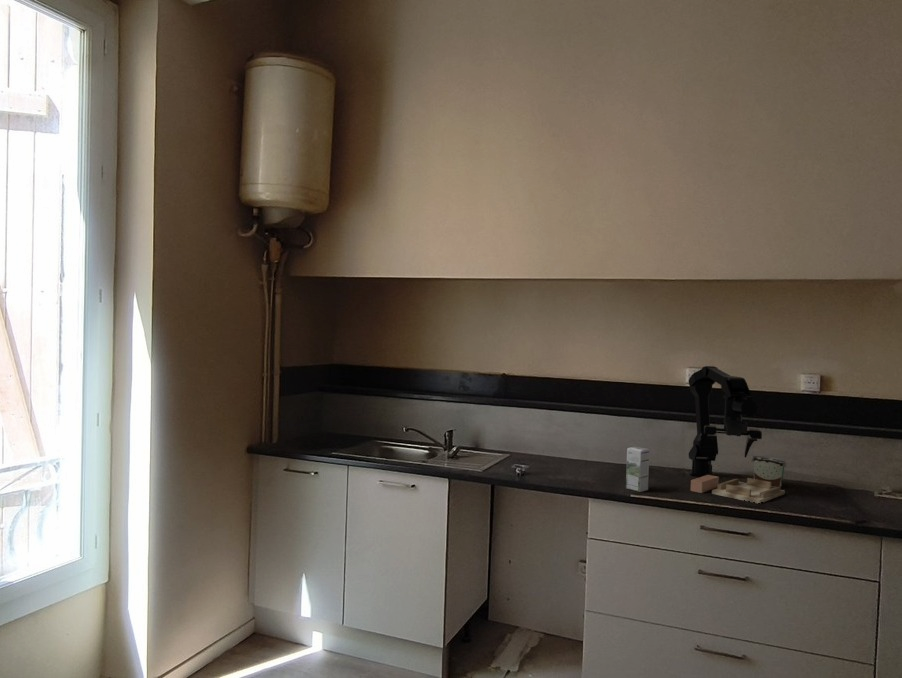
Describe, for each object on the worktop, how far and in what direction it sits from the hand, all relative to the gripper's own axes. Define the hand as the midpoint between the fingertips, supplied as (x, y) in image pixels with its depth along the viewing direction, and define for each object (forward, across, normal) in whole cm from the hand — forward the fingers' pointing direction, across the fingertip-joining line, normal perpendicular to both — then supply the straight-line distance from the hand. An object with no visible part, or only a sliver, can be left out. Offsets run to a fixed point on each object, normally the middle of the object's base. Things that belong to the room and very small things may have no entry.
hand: (731, 455), depth 233 cm
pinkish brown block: (+12, -8, -4) cm, 15 cm away
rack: (+12, +6, -4) cm, 14 cm away
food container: (+12, +15, +16) cm, 25 cm away
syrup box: (+12, -31, -17) cm, 37 cm away
